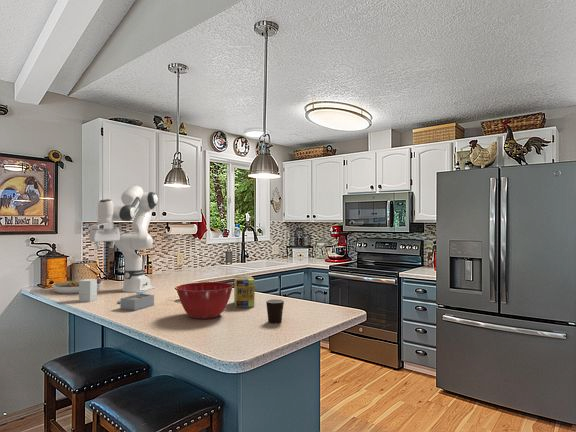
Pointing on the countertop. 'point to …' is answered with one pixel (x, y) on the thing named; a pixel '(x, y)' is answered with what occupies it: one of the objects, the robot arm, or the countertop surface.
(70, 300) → the countertop surface
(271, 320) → the coffee mug
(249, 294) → the protein box
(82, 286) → the supplement box
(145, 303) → the tub
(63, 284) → the bowl
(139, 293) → the lid
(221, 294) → the mixing bowl
